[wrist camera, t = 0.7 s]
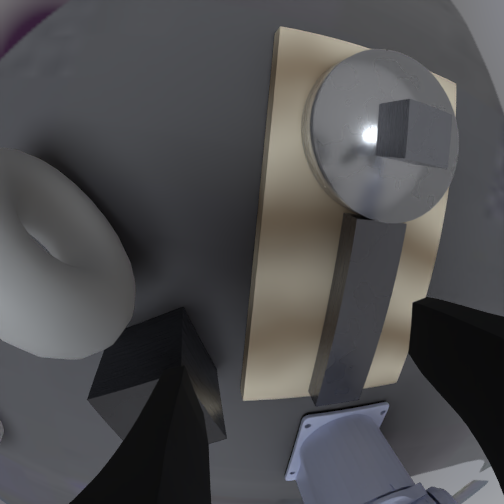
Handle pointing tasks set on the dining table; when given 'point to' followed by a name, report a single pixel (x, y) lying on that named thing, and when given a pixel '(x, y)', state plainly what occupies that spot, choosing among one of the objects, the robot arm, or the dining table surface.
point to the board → (314, 240)
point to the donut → (58, 264)
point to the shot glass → (1, 431)
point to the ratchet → (372, 194)
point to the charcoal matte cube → (155, 372)
